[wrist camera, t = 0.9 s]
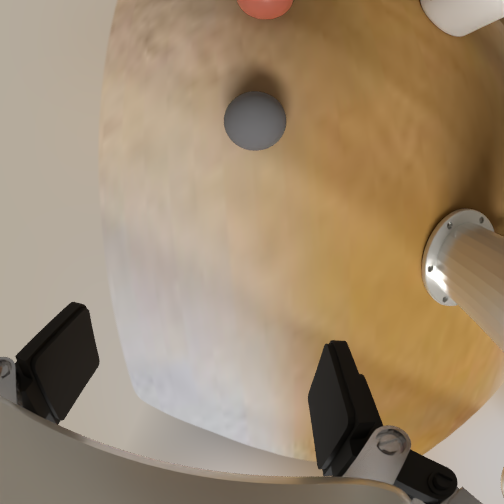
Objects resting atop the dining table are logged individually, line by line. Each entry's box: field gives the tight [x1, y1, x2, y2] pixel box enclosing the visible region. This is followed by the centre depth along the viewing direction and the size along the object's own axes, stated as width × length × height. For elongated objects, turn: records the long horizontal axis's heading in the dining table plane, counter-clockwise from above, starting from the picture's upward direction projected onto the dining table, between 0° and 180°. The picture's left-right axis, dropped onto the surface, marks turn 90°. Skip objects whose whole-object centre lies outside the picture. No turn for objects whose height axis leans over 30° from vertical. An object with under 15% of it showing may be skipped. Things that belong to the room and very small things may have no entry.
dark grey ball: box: [224, 91, 286, 150], centre depth 24 cm, size 6×6×6 cm
